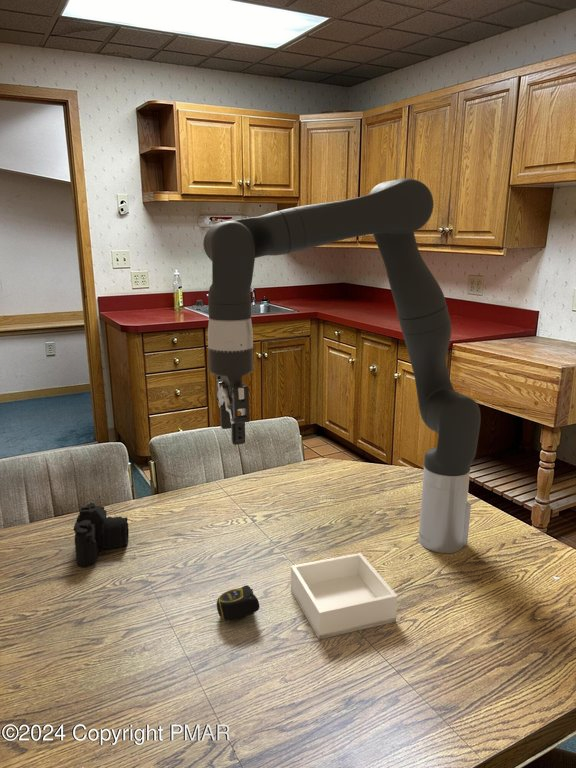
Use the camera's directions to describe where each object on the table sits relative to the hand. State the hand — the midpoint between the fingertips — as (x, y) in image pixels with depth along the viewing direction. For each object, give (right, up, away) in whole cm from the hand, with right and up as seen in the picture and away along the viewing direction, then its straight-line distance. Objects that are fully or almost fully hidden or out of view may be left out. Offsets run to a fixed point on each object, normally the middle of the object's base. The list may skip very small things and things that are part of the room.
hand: (232, 435), depth 100 cm
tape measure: (+5, -30, -3) cm, 31 cm away
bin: (+19, -30, +1) cm, 36 cm away
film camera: (-29, -25, +19) cm, 43 cm away
